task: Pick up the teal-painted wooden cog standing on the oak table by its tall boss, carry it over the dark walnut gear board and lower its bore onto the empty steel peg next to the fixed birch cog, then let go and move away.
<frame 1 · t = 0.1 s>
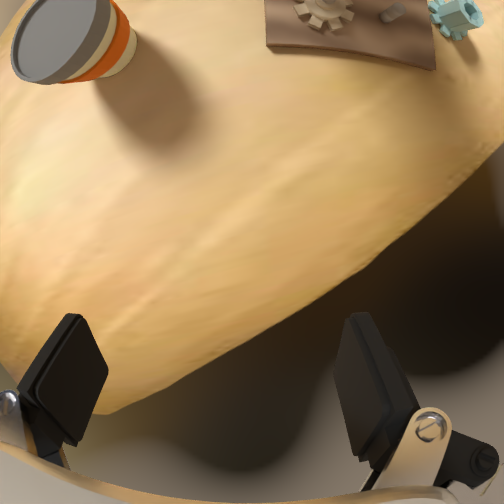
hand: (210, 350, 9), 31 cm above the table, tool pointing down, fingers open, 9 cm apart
gear board: (354, 12, 26), on the table
loose cog: (446, 19, 24), on the table
reusable coffee cup: (109, 49, 29), on the table
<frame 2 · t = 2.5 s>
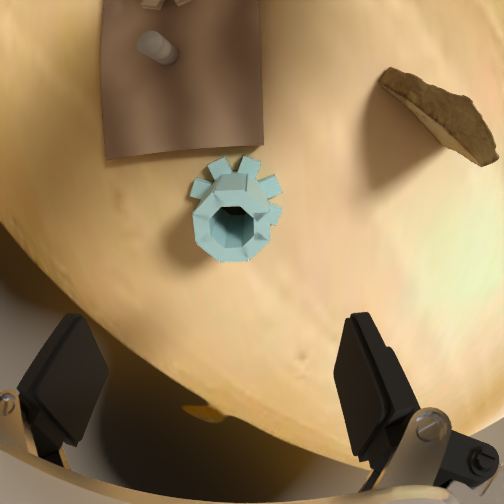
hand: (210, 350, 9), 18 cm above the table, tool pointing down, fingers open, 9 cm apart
gear board: (178, 20, 18), on the table
loose cog: (236, 199, 26), on the table
rock: (423, 105, 21), on the table
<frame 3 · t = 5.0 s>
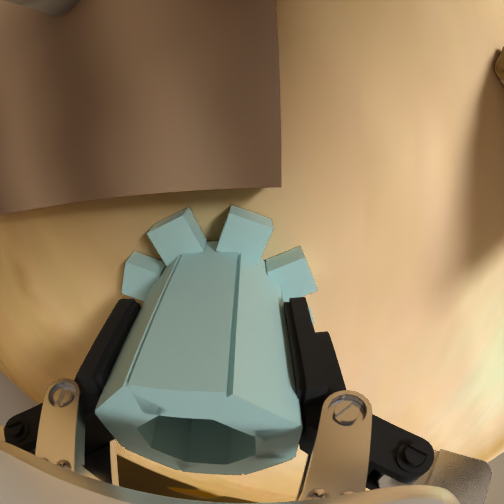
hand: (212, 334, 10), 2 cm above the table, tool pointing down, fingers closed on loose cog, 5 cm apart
loose cog: (218, 296, 12), on the table, touching gripper
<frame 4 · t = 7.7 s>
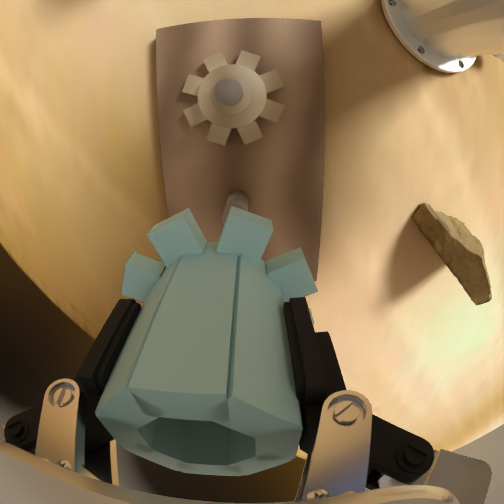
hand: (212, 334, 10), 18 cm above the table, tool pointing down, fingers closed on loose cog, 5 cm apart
gear board: (242, 153, 24), on the table
loose cog: (218, 297, 12), point 16 cm above the table, touching gripper
rock: (443, 228, 28), on the table
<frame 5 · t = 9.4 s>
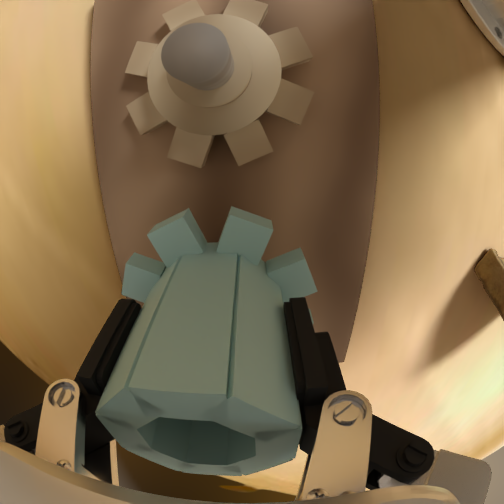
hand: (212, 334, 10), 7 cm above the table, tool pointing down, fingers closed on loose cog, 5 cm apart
gear board: (235, 176, 14), on the table
loose cog: (218, 297, 12), point 4 cm above the table, touching gripper
rock: (502, 275, 18), on the table
when the fingers open (4 cm above the table, at t = 10.7 s): loose cog stays where it is, resting on gear board.
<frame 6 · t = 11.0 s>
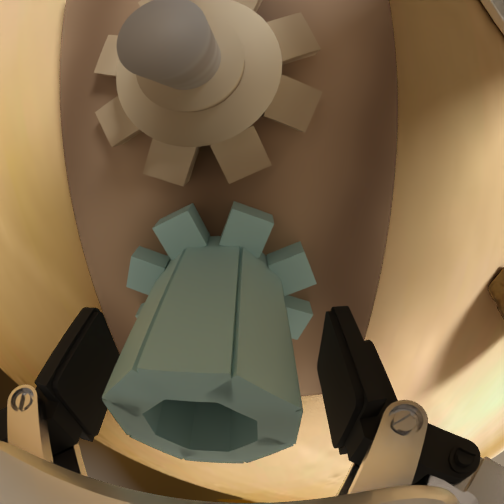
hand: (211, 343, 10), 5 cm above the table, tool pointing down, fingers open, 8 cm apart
gear board: (227, 193, 12), on the table
loose cog: (220, 289, 13), point 1 cm above the table, touching gear board
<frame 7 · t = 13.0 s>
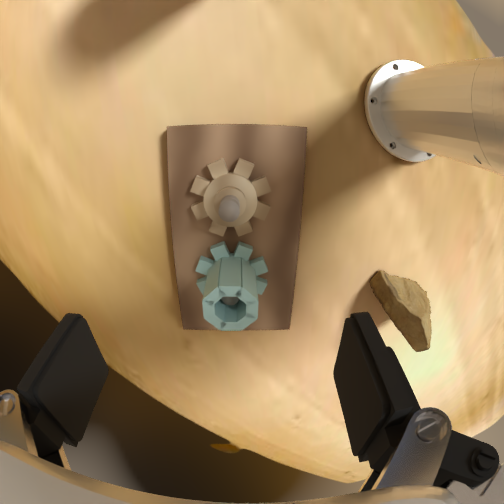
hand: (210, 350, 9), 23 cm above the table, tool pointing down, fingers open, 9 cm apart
gear board: (235, 236, 33), on the table
loose cog: (231, 273, 33), point 1 cm above the table, touching gear board
rock: (397, 286, 37), on the table
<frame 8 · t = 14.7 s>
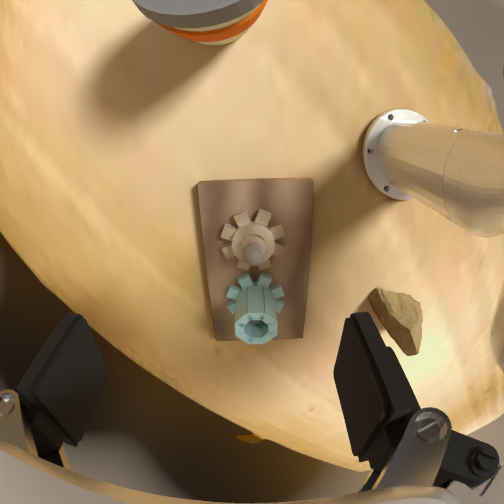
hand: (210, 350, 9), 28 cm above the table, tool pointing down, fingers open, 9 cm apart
gear board: (257, 267, 40), on the table
loose cog: (255, 297, 41), point 1 cm above the table, touching gear board
rock: (393, 299, 44), on the table
reusable coffee cup: (217, 16, 25), on the table
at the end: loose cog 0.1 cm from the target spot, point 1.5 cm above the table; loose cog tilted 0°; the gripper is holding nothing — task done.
